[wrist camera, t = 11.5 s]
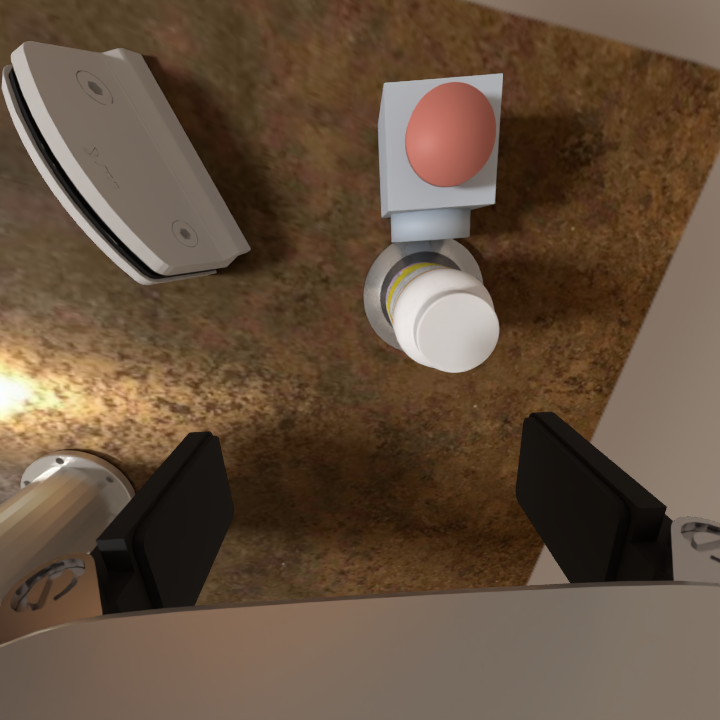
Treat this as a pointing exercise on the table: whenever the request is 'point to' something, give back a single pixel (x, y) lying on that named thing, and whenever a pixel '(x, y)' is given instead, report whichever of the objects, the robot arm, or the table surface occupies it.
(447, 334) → the supplement bottle
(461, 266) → the gray metal plate
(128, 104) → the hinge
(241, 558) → the table surface
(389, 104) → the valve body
